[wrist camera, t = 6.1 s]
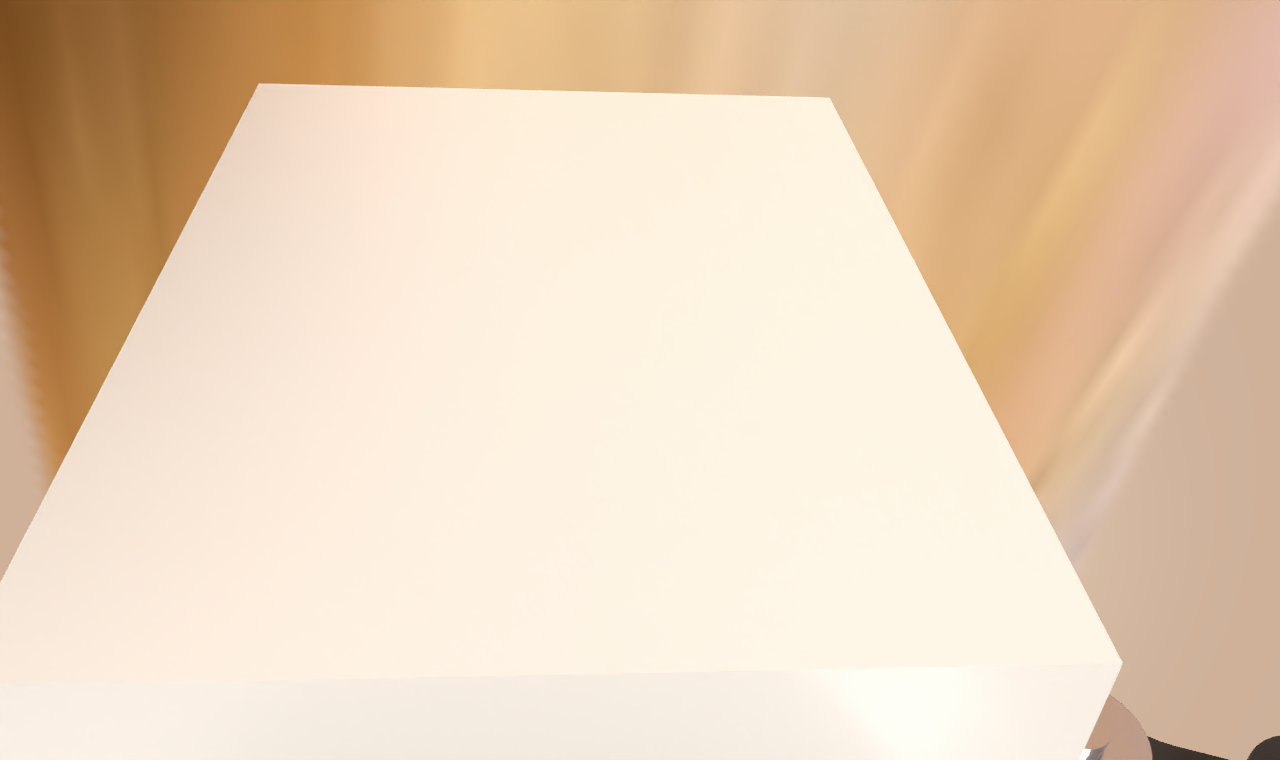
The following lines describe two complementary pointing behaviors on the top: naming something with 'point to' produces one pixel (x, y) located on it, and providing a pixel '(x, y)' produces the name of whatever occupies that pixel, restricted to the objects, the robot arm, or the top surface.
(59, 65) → the top surface
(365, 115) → the white block
